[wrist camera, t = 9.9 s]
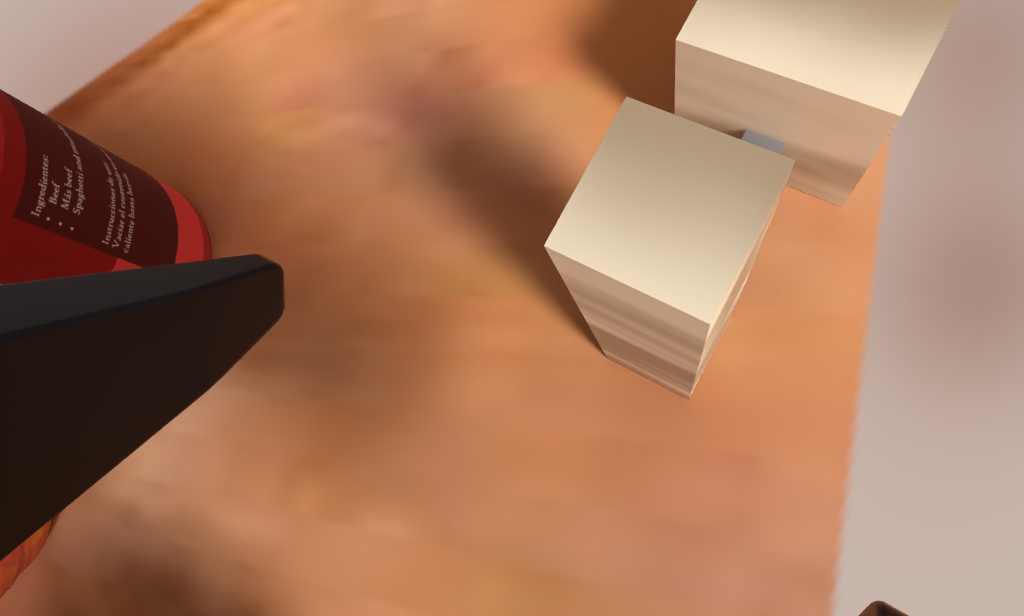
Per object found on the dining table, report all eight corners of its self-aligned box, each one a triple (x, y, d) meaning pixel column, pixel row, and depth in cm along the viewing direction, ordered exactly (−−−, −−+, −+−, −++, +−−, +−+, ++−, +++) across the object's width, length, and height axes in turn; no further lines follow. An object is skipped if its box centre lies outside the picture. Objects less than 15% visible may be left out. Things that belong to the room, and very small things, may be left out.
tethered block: (732, 422, 21) (805, 369, 10) (567, 338, 23) (470, 211, 12) (918, 55, 23) (1169, -362, 11) (749, 2, 24) (818, -402, 13)
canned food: (26, 329, 29) (-345, 249, 18) (117, 165, 29) (-186, -2, 19) (156, 403, 26) (-182, 360, 16) (251, 222, 27) (-10, 69, 17)
